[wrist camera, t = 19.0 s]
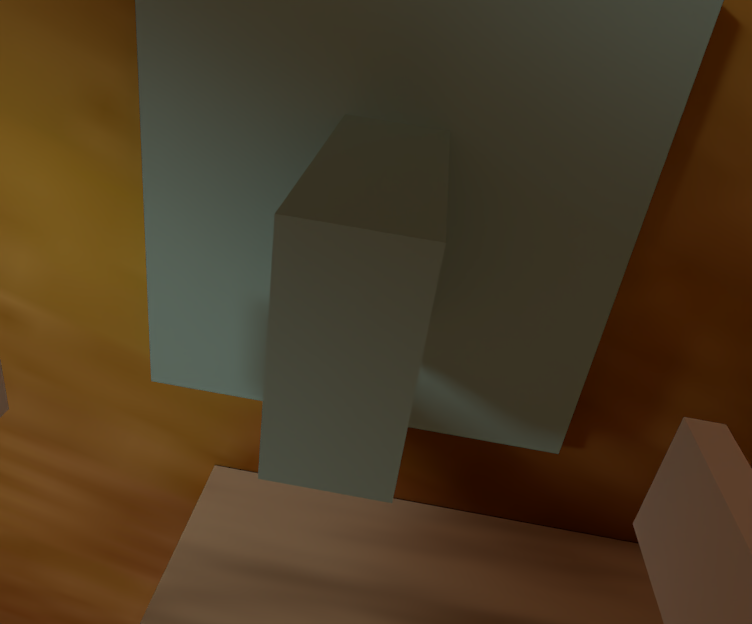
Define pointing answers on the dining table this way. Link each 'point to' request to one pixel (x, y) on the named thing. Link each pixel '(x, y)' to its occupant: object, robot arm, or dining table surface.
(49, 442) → the dining table surface
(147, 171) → the cover
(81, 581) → the dining table surface
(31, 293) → the dining table surface
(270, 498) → the latch box
